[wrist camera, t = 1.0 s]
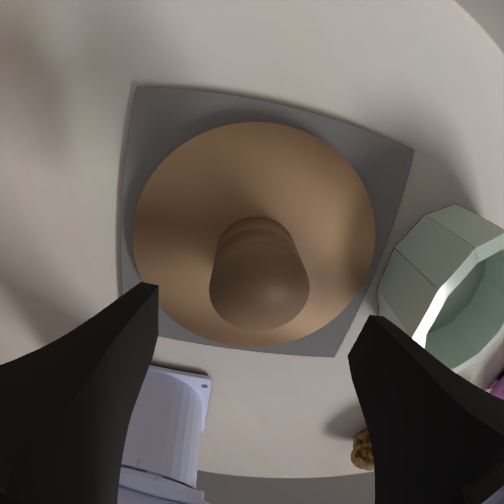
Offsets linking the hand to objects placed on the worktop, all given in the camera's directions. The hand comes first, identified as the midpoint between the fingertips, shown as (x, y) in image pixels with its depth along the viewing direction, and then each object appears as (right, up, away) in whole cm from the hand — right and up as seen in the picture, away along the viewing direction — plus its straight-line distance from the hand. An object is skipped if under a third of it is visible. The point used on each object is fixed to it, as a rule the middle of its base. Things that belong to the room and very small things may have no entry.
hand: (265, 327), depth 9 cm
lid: (0, +3, +6) cm, 7 cm away
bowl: (+13, +1, +8) cm, 16 cm away
